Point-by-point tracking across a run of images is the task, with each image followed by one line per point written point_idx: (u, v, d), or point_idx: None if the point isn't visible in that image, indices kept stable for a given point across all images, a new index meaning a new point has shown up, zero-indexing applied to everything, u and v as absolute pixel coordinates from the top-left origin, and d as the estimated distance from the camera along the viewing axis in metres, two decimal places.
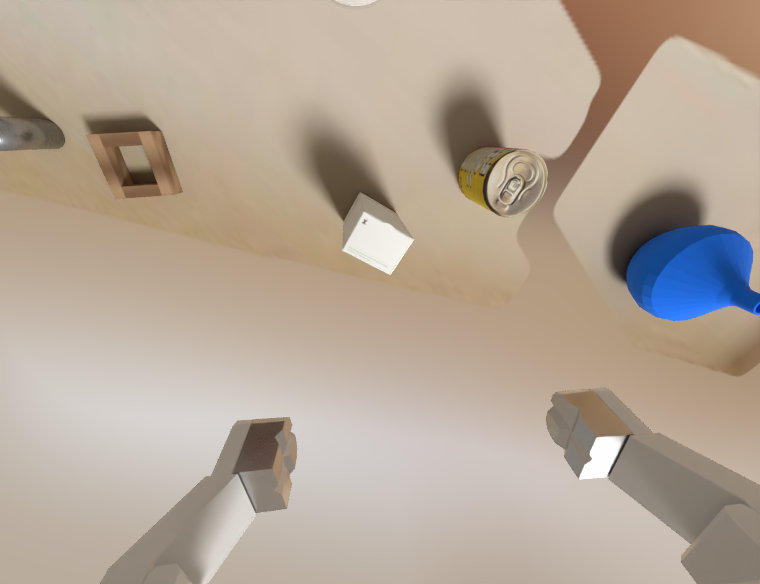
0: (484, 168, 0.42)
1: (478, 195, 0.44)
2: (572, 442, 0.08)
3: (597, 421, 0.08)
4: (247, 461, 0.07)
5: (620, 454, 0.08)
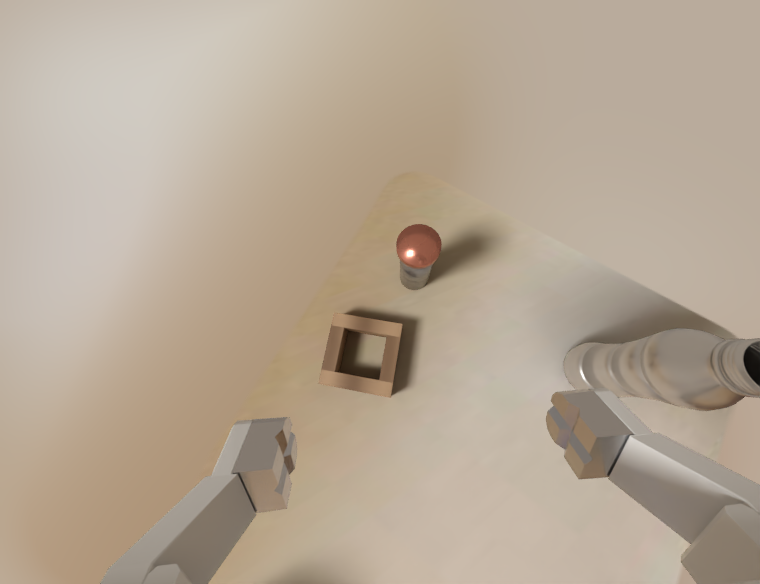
0: None
1: None
2: (572, 442, 0.08)
3: (597, 421, 0.08)
4: (247, 462, 0.07)
5: (620, 454, 0.08)
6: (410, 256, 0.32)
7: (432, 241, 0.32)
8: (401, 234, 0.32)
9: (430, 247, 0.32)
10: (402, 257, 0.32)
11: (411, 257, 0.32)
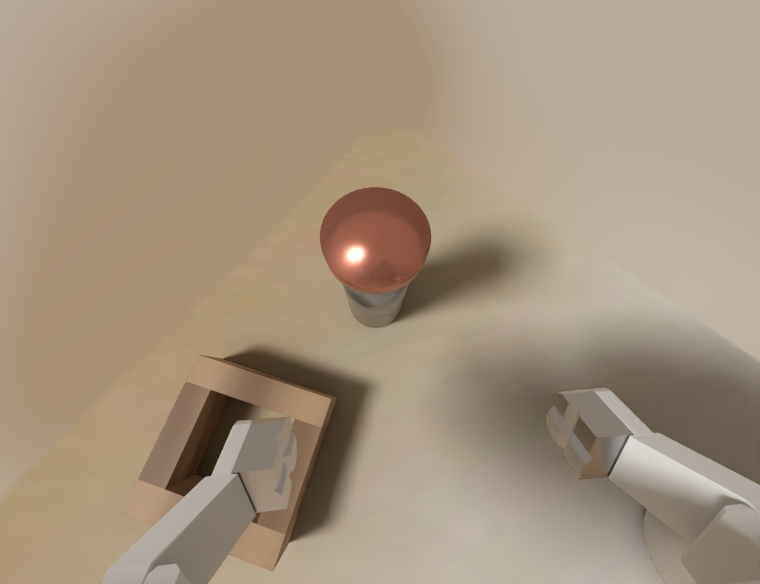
0: None
1: None
2: (572, 442, 0.08)
3: (597, 421, 0.08)
4: (247, 462, 0.07)
5: (620, 454, 0.08)
6: (349, 260, 0.12)
7: (410, 231, 0.13)
8: (338, 205, 0.13)
9: (402, 245, 0.13)
10: (329, 260, 0.13)
11: (351, 263, 0.12)
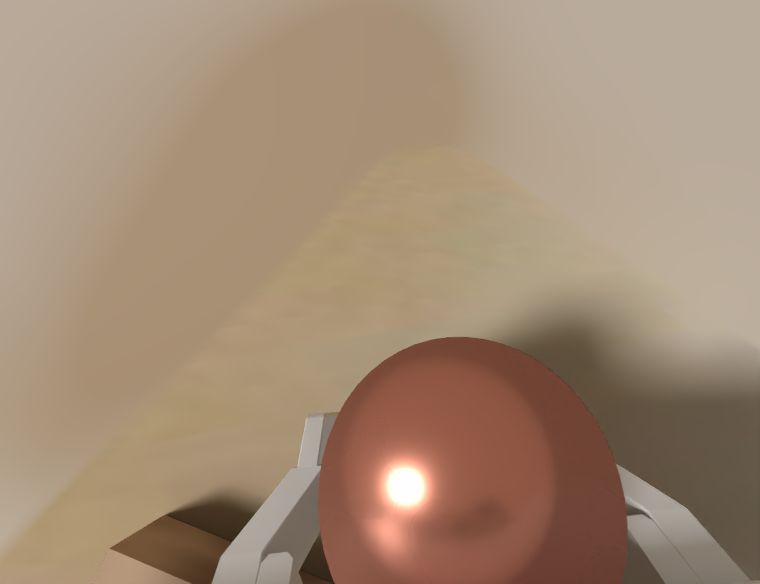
0: None
1: None
2: None
3: None
4: None
5: None
6: None
7: (564, 481, 0.05)
8: (367, 390, 0.05)
9: (550, 530, 0.05)
10: (343, 582, 0.04)
11: None
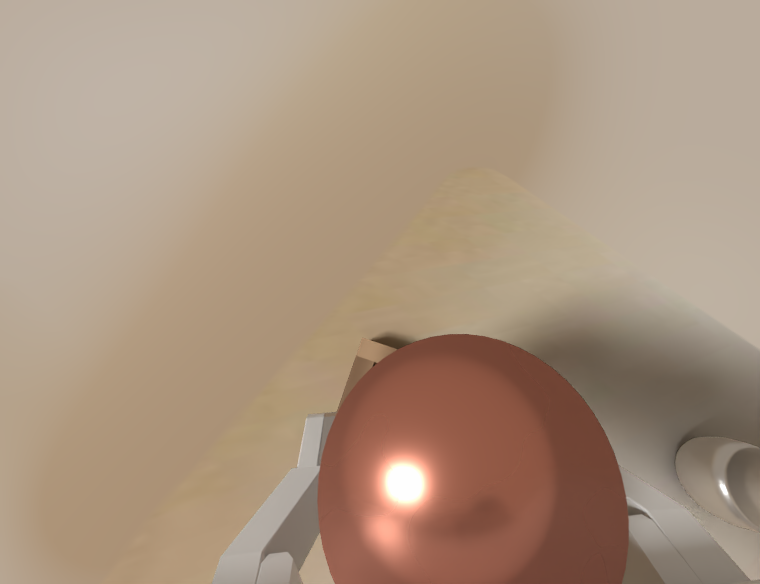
0: None
1: None
2: None
3: None
4: None
5: None
6: None
7: (565, 479, 0.05)
8: (367, 388, 0.05)
9: (551, 528, 0.04)
10: (343, 581, 0.04)
11: None
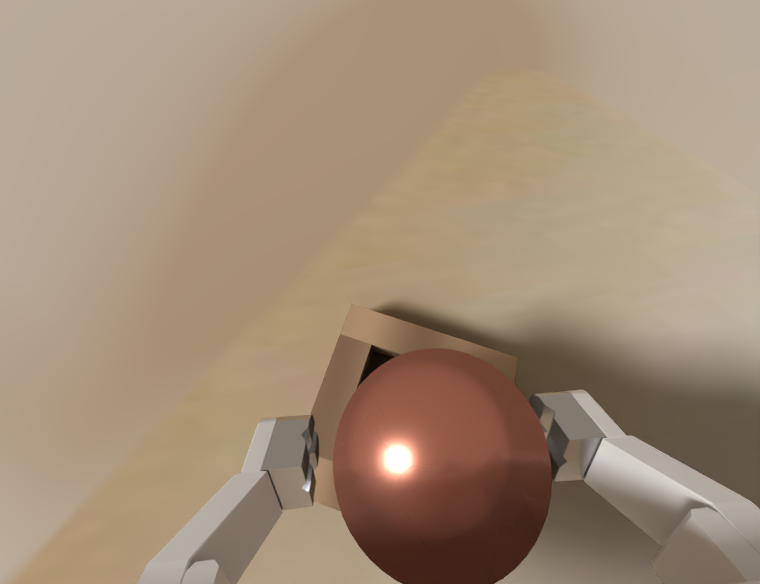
0: None
1: None
2: (548, 444, 0.08)
3: (571, 423, 0.08)
4: (275, 459, 0.07)
5: (594, 456, 0.08)
6: (392, 523, 0.06)
7: (508, 452, 0.07)
8: (367, 388, 0.07)
9: (497, 486, 0.06)
10: (351, 521, 0.06)
11: (396, 530, 0.06)
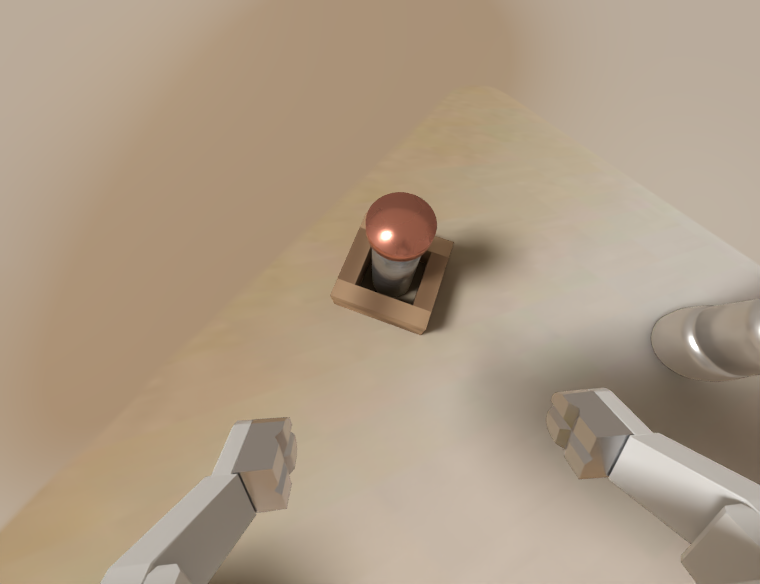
0: None
1: None
2: (572, 442, 0.08)
3: (597, 421, 0.08)
4: (247, 462, 0.07)
5: (620, 454, 0.08)
6: (384, 238, 0.20)
7: (423, 222, 0.20)
8: (377, 202, 0.20)
9: (418, 230, 0.20)
10: (371, 237, 0.20)
11: (385, 240, 0.20)
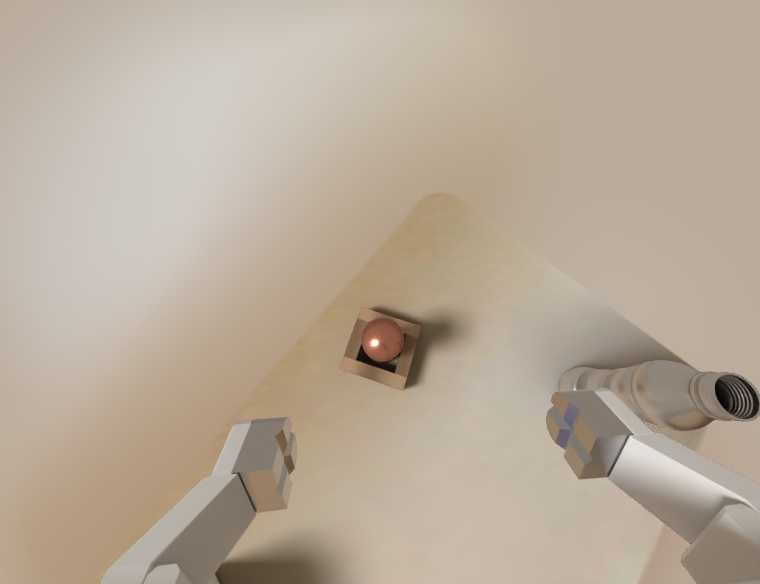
0: None
1: None
2: (572, 442, 0.08)
3: (597, 421, 0.08)
4: (247, 462, 0.07)
5: (620, 453, 0.08)
6: (372, 349, 0.33)
7: (396, 337, 0.33)
8: (368, 325, 0.34)
9: (393, 343, 0.33)
10: (365, 349, 0.33)
11: (373, 350, 0.33)
